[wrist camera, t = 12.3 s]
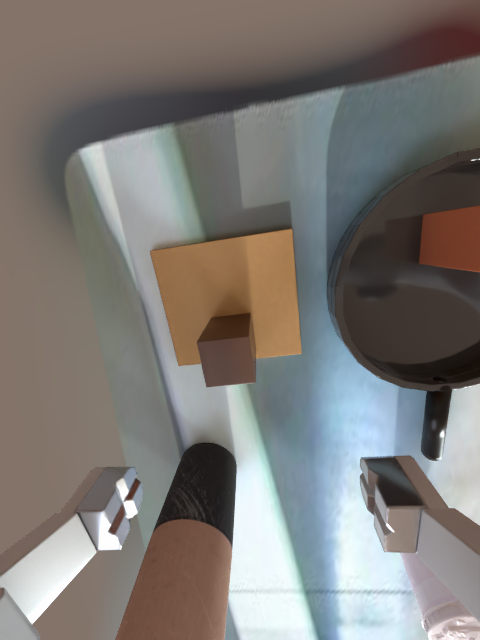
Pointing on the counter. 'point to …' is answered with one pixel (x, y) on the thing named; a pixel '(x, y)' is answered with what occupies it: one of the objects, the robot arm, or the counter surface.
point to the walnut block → (228, 350)
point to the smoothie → (439, 604)
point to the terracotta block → (451, 239)
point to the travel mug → (188, 554)
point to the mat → (231, 290)
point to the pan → (409, 283)
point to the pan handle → (436, 420)
